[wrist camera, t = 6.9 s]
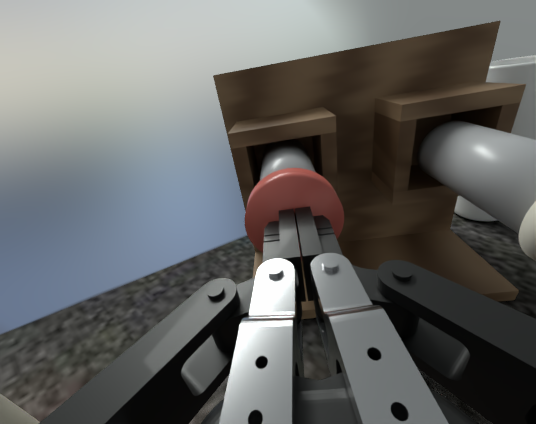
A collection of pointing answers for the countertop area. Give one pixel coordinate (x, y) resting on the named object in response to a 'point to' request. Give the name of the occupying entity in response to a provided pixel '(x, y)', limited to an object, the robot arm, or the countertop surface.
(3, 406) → the travel mug
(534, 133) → the drinking glass
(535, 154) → the ivory button
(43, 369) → the countertop surface
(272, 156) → the red button
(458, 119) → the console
